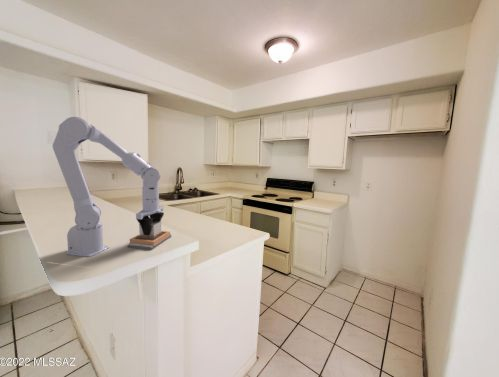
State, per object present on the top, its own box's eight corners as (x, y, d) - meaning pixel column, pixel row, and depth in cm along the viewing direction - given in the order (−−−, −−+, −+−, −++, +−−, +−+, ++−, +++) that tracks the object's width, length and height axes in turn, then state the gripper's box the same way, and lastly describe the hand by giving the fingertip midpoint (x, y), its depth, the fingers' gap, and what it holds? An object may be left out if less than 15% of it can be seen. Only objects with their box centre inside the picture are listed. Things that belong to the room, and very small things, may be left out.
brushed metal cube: (139, 238, 80) (139, 223, 79) (147, 234, 84) (147, 220, 84) (154, 240, 79) (153, 225, 78) (161, 235, 84) (161, 221, 83)
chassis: (127, 247, 76) (127, 240, 75) (150, 234, 89) (150, 228, 89) (151, 249, 74) (151, 242, 74) (171, 236, 88) (171, 230, 88)
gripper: (148, 202, 72) (149, 240, 74) (170, 196, 86) (170, 227, 88) (130, 201, 73) (131, 238, 75) (154, 195, 87) (154, 226, 89)
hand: (151, 232), depth 81 cm, fingers closed on brushed metal cube, 5 cm apart
